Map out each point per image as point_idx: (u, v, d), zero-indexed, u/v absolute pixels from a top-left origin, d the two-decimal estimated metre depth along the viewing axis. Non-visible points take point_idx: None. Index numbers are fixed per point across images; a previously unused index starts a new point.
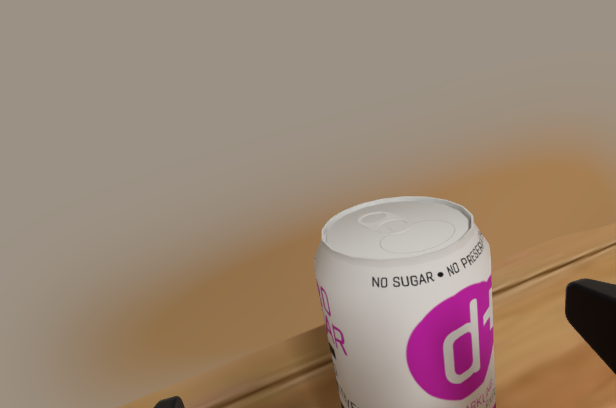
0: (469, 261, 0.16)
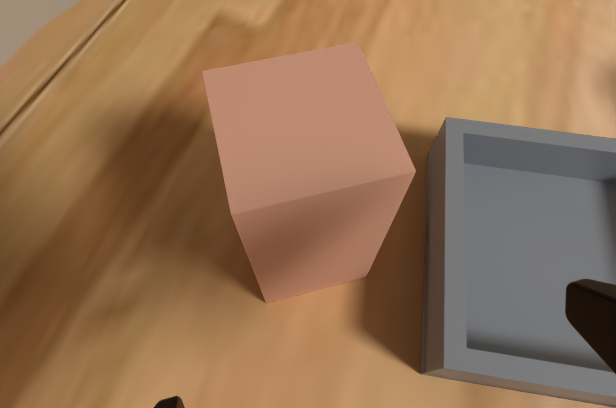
0: None
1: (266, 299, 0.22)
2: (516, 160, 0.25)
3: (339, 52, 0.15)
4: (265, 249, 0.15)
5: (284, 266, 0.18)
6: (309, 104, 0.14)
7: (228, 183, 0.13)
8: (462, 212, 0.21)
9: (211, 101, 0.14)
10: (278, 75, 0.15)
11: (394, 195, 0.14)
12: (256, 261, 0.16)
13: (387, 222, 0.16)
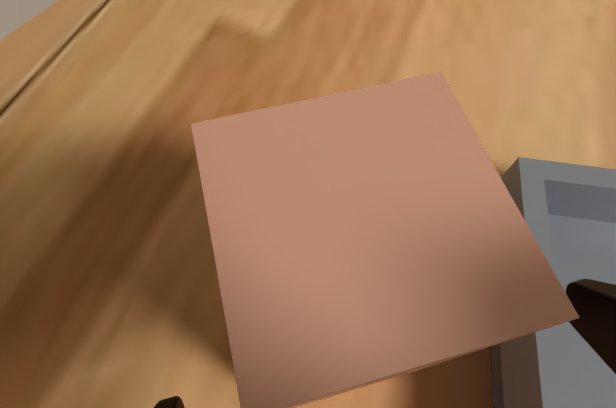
0: None
1: None
2: (607, 211, 0.19)
3: (413, 90, 0.09)
4: (293, 406, 0.10)
5: (317, 399, 0.12)
6: (373, 182, 0.08)
7: (237, 348, 0.07)
8: None
9: (205, 179, 0.08)
10: (317, 130, 0.09)
11: (518, 337, 0.08)
12: None
13: (481, 349, 0.11)
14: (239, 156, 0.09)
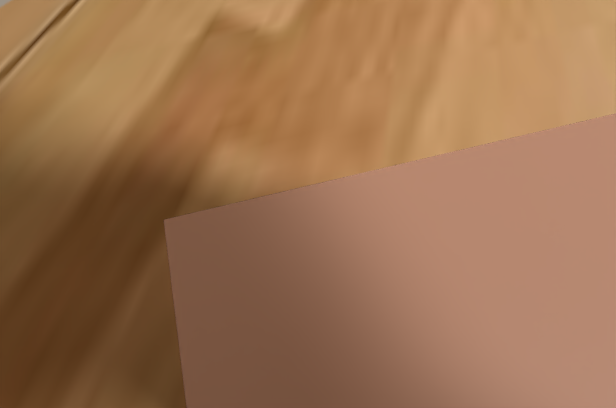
0: None
1: None
2: None
3: (600, 143, 0.05)
4: None
5: None
6: (565, 371, 0.04)
7: None
8: None
9: (192, 359, 0.04)
10: (425, 235, 0.04)
11: None
12: None
13: None
14: (265, 300, 0.04)
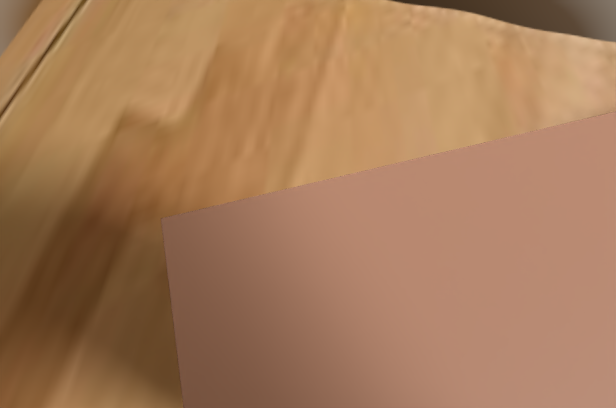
0: None
1: None
2: None
3: (596, 143, 0.05)
4: None
5: None
6: (562, 367, 0.04)
7: None
8: None
9: (189, 357, 0.04)
10: (422, 234, 0.04)
11: None
12: None
13: None
14: (262, 298, 0.04)
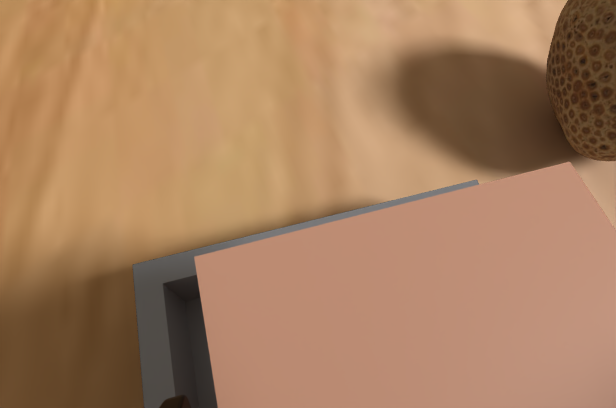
0: None
1: None
2: None
3: (533, 193, 0.06)
4: None
5: None
6: (495, 370, 0.05)
7: None
8: None
9: (219, 364, 0.05)
10: (394, 268, 0.06)
11: None
12: None
13: None
14: (273, 319, 0.05)
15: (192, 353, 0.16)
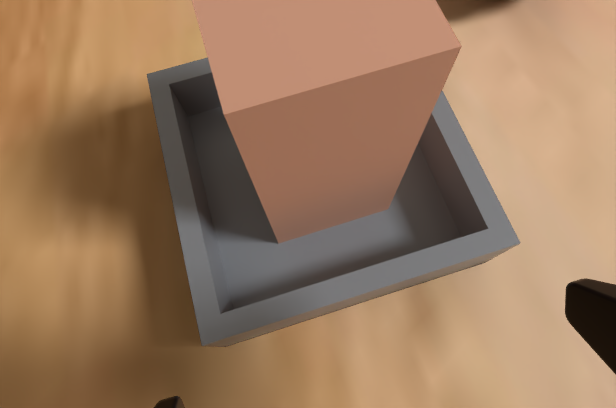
0: None
1: (278, 238, 0.20)
2: None
3: None
4: (272, 171, 0.13)
5: (296, 194, 0.15)
6: None
7: (218, 76, 0.10)
8: (186, 172, 0.19)
9: None
10: None
11: (430, 87, 0.11)
12: (263, 188, 0.14)
13: (417, 131, 0.13)
14: None
15: (195, 147, 0.23)
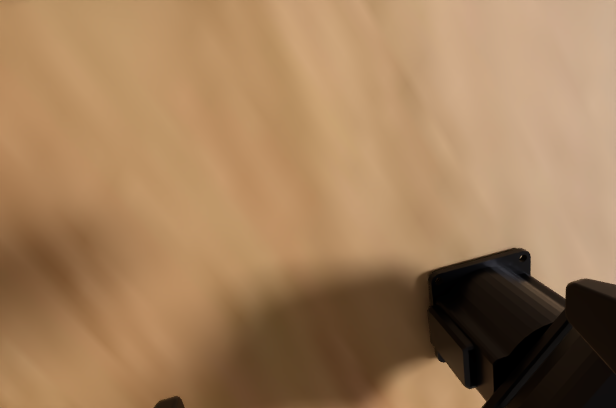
0: None
1: None
2: None
3: None
4: None
5: None
6: None
7: None
8: None
9: None
10: None
11: None
12: None
13: None
14: None
15: None
